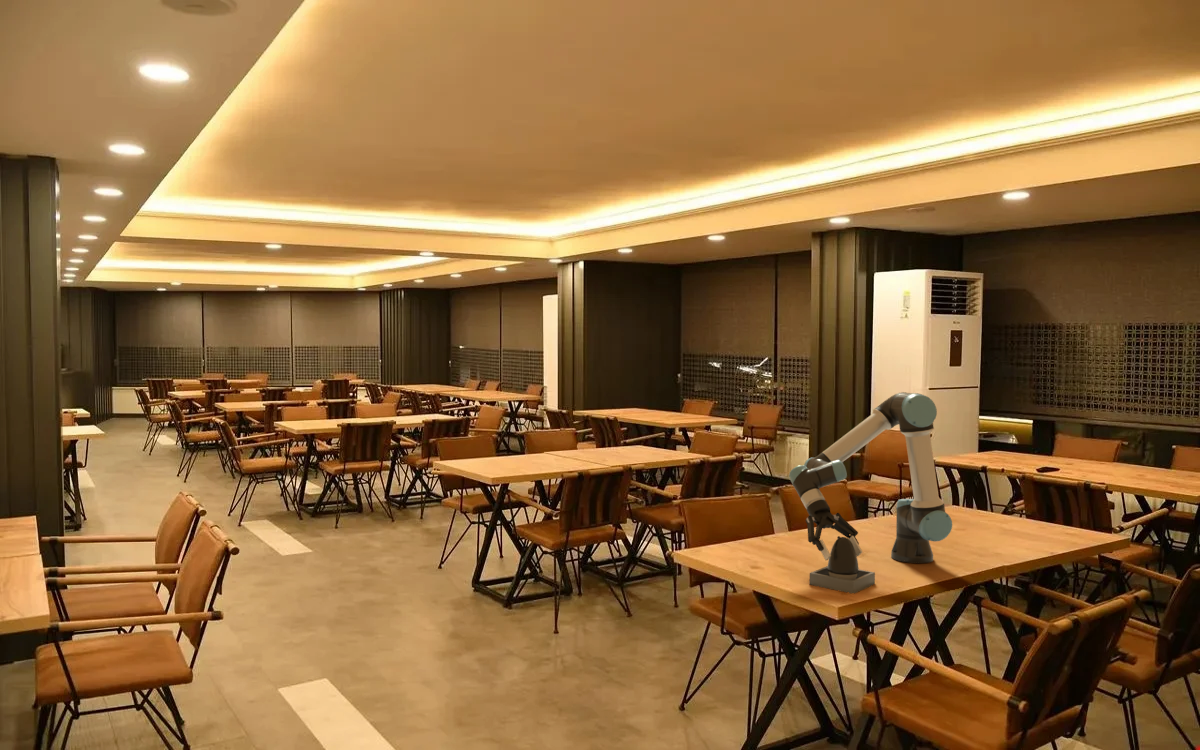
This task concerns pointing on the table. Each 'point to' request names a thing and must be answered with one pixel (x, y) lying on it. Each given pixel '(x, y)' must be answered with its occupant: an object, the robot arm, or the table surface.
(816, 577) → the grey tray
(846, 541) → the dark grey oval piece
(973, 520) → the table surface
